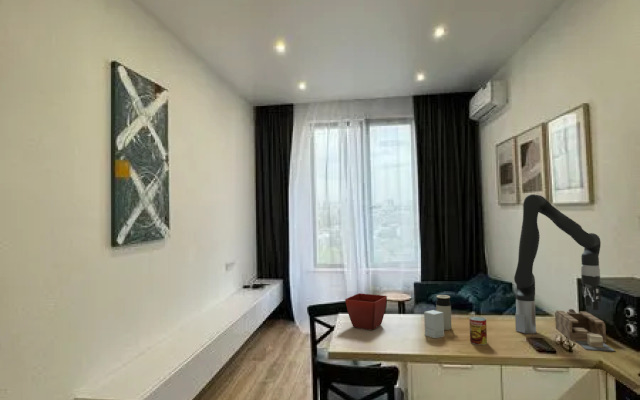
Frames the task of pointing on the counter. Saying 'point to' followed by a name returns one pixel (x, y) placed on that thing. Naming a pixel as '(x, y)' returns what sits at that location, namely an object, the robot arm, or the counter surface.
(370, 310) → the plant pot
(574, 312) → the vase
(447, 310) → the travel mug
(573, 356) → the counter surface
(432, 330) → the supplement box
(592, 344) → the block
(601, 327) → the station
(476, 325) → the canned food
